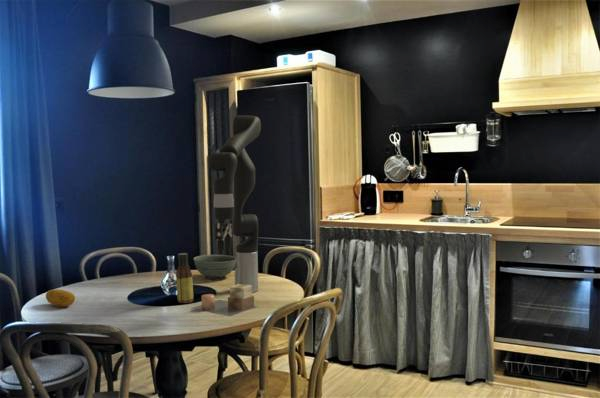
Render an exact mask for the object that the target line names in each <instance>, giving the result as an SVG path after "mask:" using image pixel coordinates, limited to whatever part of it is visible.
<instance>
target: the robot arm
mask: <svg viewBox="0 0 600 398" xmlns="http://www.w3.org/2000/svg"><path fill="white" fill-rule="evenodd" d="M232 122H233V123H232V136H231V137H229V138H228V139H227V140H226V141H225V142H224V144H223V145H222V146H221V147H219V148H217V149H216V150H214V151H213V152H212V153H211V154H210V155H209V157H208V166H209V168H210V170H211V171H213V172H225V174H224V176H222V177H218V178H215V179H214V181H213V219H215V220H218V222H215V225H214V227H215V228H214V234H215V235H214V237H215V240H216V241H217V250H218V251H220V252H224V251H225V248H231V247H232V237H233V236H234V237H247V238H246V240H244V241H242V242H240V243H238V244H237V245H236V247H235V255H236V256H235V257H236V263H235V266H236V268H235V269H234V285H237V284H243V285H252V293H255V292H258V291H259V262H258V252H259V251H258V245H259V218H258V216H257V215H256V214H255V213H254V214H253V213H252V214H251V213H250V214H247V213H246V214H243V209H244V205H245V204H246V201H247V199H248V198H249V196H250V195H251V193H252V192H253V190H254V188H255V185H256V167H255V165H254V163H253V160H251V158H250V156H249V154H248V152H247V151H246V149H245V148H246V147H247V146H248V145H249V144H251V143H252V142H253V141H255V140H256V139H257V138H258V137H259V136H260V133H261V128H262V123H261V119H260V118H259V117H258V116H255V115H241V114H238V115H235V116H234V117H233V121H232Z"/></svg>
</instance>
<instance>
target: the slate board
mask: <svg viewBox="0 0 600 398" xmlns="http://www.w3.org/2000/svg"><path fill="white" fill-rule="evenodd" d="M258 307H259V306H256V305H254V307H251V308H248V309H245V310H238V309H232V308H228V300H222V299H218V300H215V309H213V310H202V304H201V305H197V306H194V307H191V308H190V310H196V311H201V312H206V313H211V314H217V315H222V316H227V317H232V316H235V315H237V314H240V313H243V312H247V311H249V310H253V309H255V308H258Z"/></svg>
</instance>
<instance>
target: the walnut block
mask: <svg viewBox="0 0 600 398" xmlns="http://www.w3.org/2000/svg"><path fill="white" fill-rule="evenodd" d="M227 301H228V308H232V309H238V310H245V309H248V308H251V307H254V306H255V295H252V296H250V297H248V298H245V299H238V298H230V296H228V297H227Z"/></svg>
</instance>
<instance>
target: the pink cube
mask: <svg viewBox="0 0 600 398" xmlns="http://www.w3.org/2000/svg"><path fill="white" fill-rule="evenodd" d="M215 301H216V299H215V294H213V293H206V294H202V295H201V305H202V310H213V309H215Z"/></svg>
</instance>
